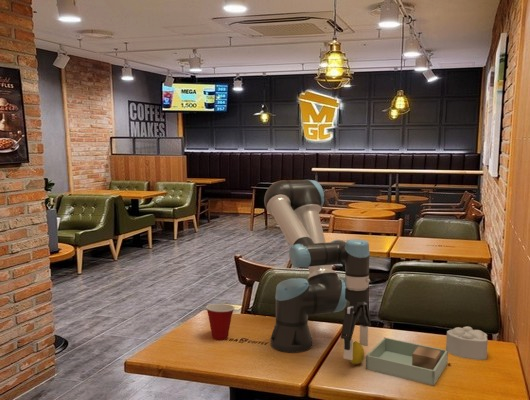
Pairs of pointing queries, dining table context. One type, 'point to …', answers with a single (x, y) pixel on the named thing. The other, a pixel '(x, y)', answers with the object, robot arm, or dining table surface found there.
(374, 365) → the box
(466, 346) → the lumpy-topped squat cylinder
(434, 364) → the walnut block
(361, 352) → the lemon
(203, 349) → the dining table surface
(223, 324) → the plastic cup
